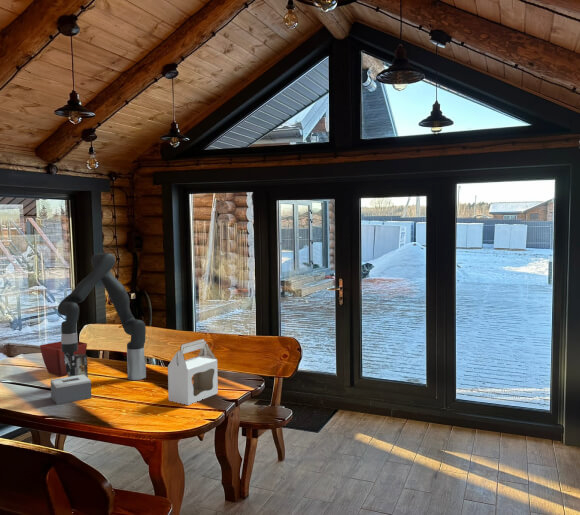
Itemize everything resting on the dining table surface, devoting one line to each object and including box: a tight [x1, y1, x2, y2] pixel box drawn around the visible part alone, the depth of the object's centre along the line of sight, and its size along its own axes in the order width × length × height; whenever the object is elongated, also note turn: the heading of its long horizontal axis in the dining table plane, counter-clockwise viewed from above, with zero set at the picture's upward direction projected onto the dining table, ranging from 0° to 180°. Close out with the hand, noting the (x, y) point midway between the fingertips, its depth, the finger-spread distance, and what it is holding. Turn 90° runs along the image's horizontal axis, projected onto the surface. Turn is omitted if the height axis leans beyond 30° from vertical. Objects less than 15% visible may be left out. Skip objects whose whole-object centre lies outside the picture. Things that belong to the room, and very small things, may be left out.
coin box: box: [50, 374, 92, 405], centre depth 266 cm, size 16×13×9 cm
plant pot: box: [39, 340, 88, 377], centre depth 311 cm, size 19×19×17 cm
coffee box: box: [67, 354, 89, 378], centre depth 286 cm, size 9×6×16 cm
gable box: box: [167, 338, 219, 406], centre depth 266 cm, size 22×13×28 cm, turn 147°
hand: (70, 373), depth 265 cm, fingers open, 8 cm apart
